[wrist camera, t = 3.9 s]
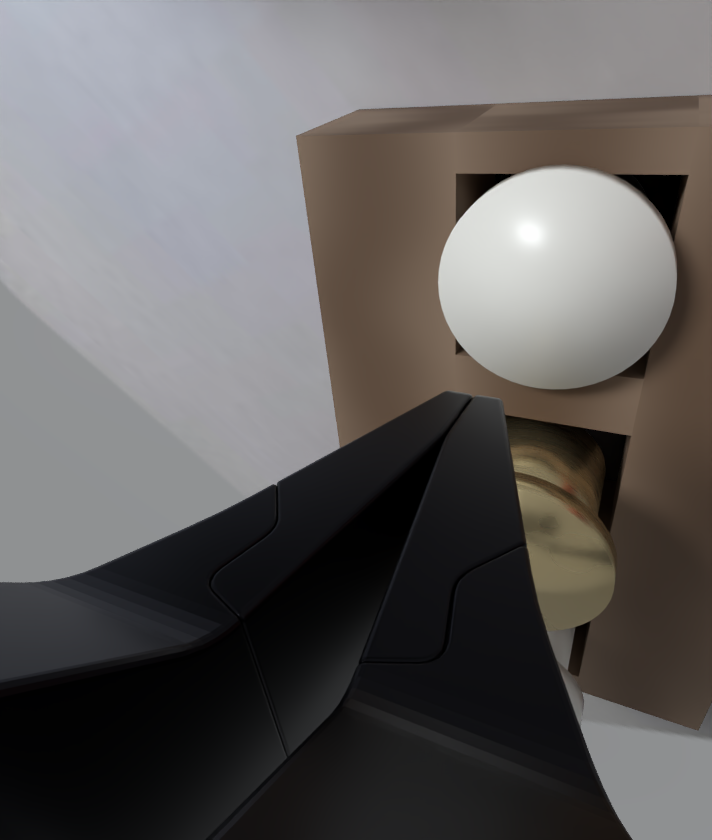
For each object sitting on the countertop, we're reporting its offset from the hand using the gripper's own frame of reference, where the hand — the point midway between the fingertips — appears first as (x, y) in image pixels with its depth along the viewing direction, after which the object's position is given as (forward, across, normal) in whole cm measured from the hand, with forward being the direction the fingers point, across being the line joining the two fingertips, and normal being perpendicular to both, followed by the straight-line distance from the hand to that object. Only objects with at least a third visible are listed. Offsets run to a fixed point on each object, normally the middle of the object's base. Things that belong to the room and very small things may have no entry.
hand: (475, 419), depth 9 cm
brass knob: (+7, 0, +6) cm, 9 cm away
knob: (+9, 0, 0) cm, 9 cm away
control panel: (+9, 0, +6) cm, 11 cm away
